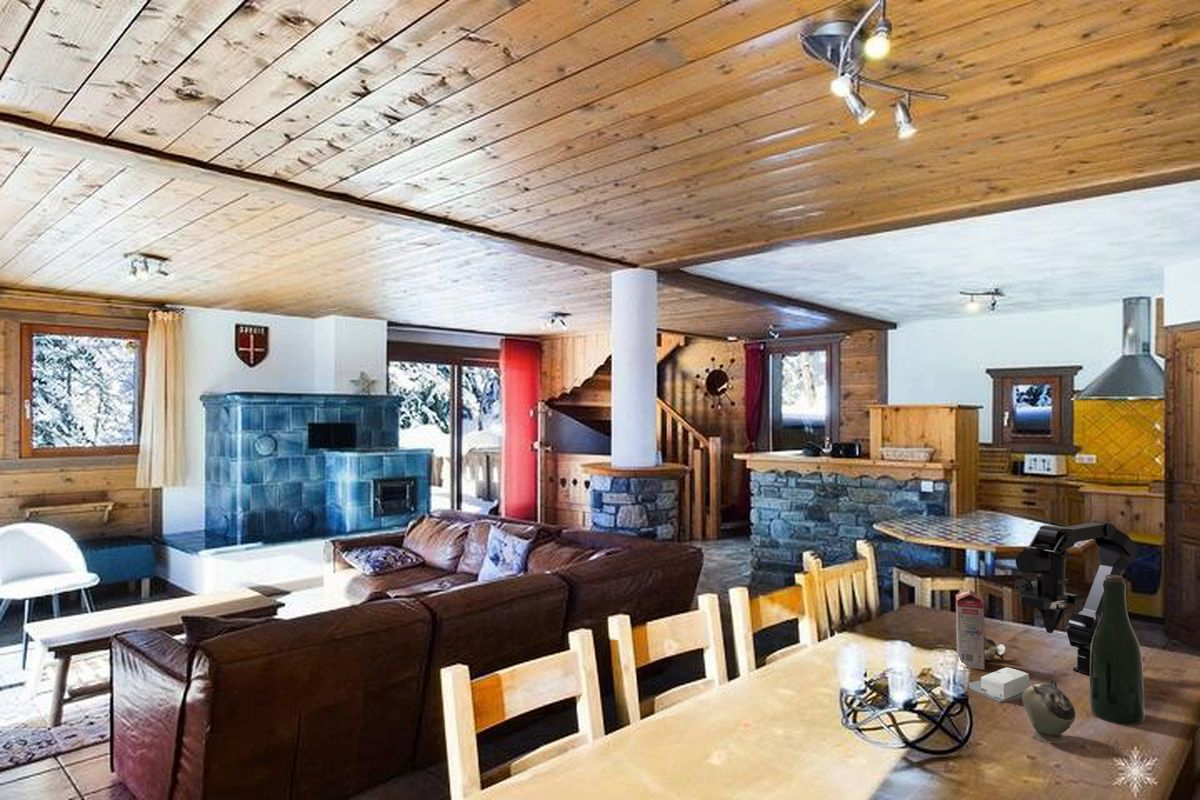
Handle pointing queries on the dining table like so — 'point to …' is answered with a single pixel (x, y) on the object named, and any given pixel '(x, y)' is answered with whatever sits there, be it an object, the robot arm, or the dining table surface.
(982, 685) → the skincare box
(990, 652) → the eagle figurine
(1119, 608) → the beer bottle
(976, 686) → the mat
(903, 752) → the dining table surface
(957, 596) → the juice carton
